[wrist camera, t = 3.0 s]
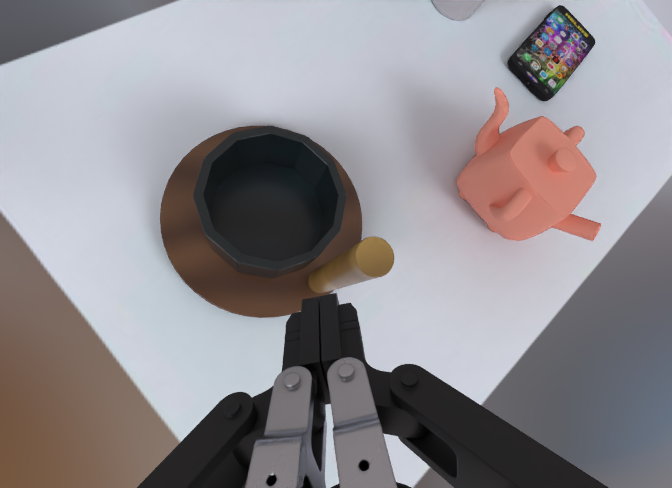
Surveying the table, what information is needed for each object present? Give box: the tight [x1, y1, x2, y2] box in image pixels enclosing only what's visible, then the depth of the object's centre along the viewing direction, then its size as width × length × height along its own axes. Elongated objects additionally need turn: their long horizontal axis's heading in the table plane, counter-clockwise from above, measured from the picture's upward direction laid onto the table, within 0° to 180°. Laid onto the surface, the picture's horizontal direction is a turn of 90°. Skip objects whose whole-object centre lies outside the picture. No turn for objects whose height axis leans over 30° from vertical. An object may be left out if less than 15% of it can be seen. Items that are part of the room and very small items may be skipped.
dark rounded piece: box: [160, 126, 394, 318], centre depth 26 cm, size 18×18×15 cm
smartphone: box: [508, 5, 595, 101], centre depth 48 cm, size 8×1×15 cm
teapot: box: [457, 87, 601, 241], centre depth 36 cm, size 14×12×10 cm
